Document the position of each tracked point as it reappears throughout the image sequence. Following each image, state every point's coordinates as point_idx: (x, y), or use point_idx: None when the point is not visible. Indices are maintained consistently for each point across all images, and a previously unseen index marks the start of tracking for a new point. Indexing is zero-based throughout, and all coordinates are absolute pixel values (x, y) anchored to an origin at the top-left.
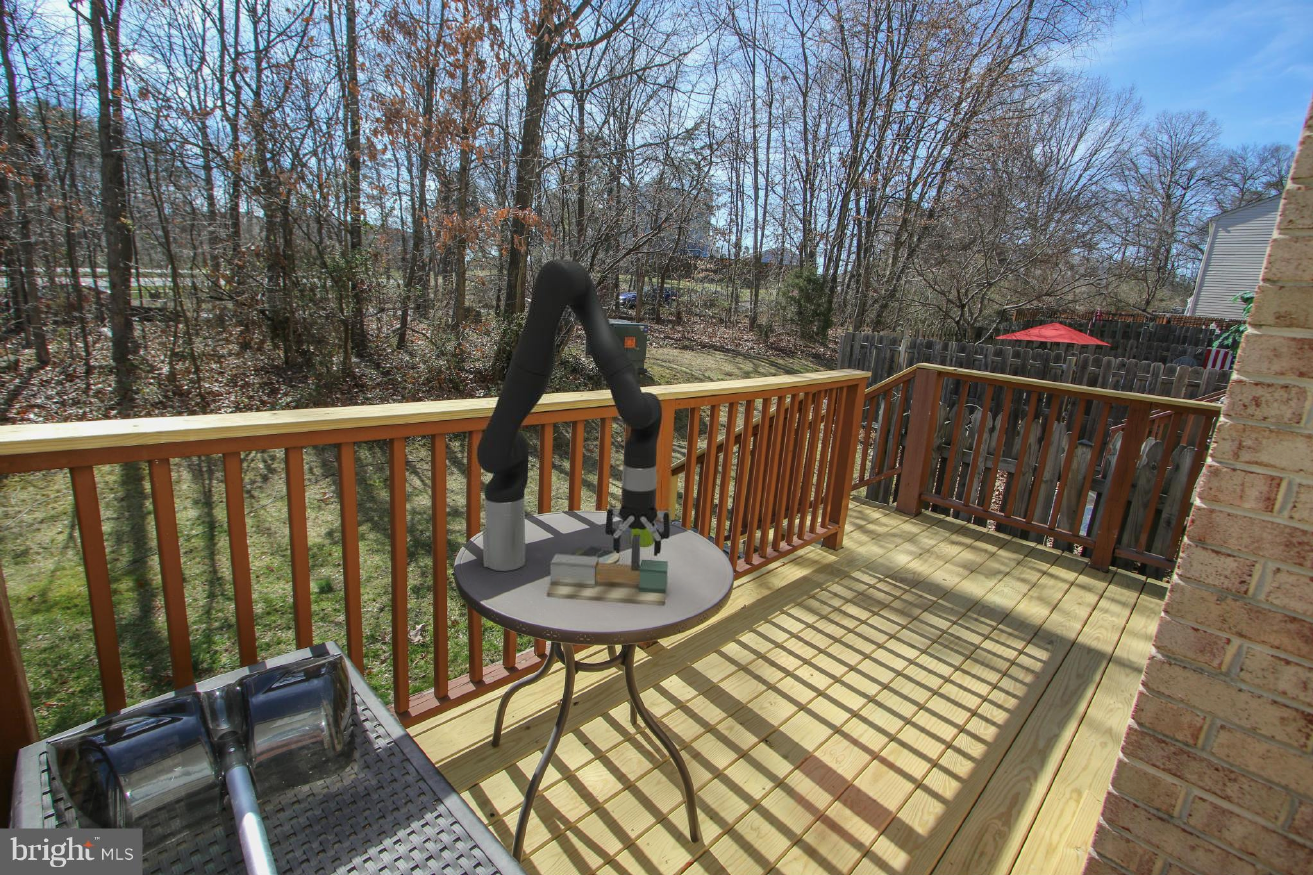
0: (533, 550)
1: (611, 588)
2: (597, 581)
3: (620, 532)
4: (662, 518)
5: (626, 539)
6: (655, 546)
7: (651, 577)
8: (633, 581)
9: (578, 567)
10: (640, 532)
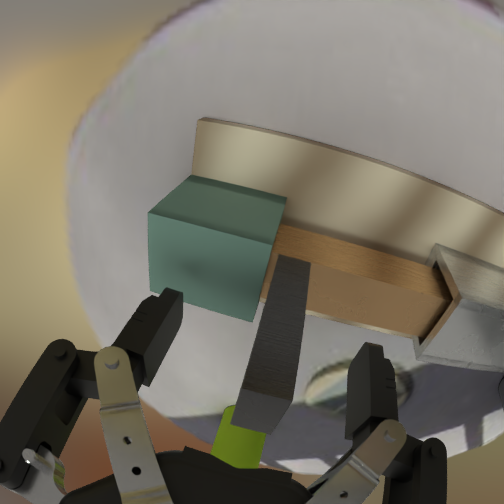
0: (466, 410)
1: (381, 233)
2: None
3: (366, 453)
4: (31, 464)
5: (277, 427)
6: (152, 327)
7: (224, 211)
8: (302, 233)
9: (502, 303)
10: (245, 435)
